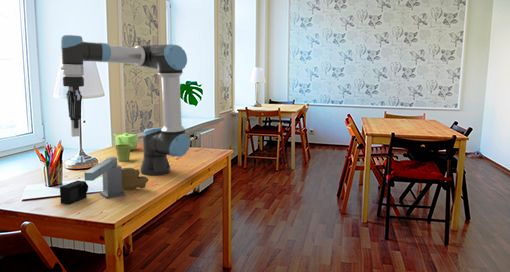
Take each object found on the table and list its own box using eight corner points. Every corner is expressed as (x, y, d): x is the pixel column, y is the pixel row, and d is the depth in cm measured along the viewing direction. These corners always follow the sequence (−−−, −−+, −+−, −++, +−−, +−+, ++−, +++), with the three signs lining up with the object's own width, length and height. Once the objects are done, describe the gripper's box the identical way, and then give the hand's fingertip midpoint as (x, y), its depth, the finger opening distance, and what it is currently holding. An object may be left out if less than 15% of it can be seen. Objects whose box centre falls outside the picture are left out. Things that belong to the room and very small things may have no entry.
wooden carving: (148, 187, 194) (148, 166, 192) (147, 190, 189) (147, 168, 188) (111, 188, 191) (110, 166, 190) (109, 191, 187) (108, 168, 185)
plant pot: (133, 161, 244) (132, 146, 242) (115, 162, 240) (115, 147, 239) (131, 158, 252) (131, 143, 251) (114, 159, 249) (114, 144, 247)
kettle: (117, 153, 265) (117, 135, 264) (111, 149, 277) (111, 132, 275) (141, 151, 274) (141, 133, 272) (134, 147, 285) (134, 130, 283)
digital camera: (72, 205, 167) (71, 188, 166) (60, 203, 169) (59, 186, 168) (89, 197, 177) (88, 181, 176) (78, 196, 179) (77, 180, 178)
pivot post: (118, 190, 187) (117, 163, 185) (125, 195, 181) (124, 166, 179) (100, 193, 182) (99, 165, 180) (106, 198, 176) (105, 169, 174)
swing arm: (108, 163, 182) (108, 156, 181) (118, 163, 182) (118, 157, 181) (82, 180, 155) (82, 172, 154) (94, 180, 155) (94, 172, 154)
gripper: (58, 75, 168) (61, 134, 172) (67, 76, 158) (70, 139, 162) (78, 75, 172) (80, 133, 176) (88, 76, 162) (90, 137, 166)
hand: (75, 136), depth 169 cm, fingers closed
